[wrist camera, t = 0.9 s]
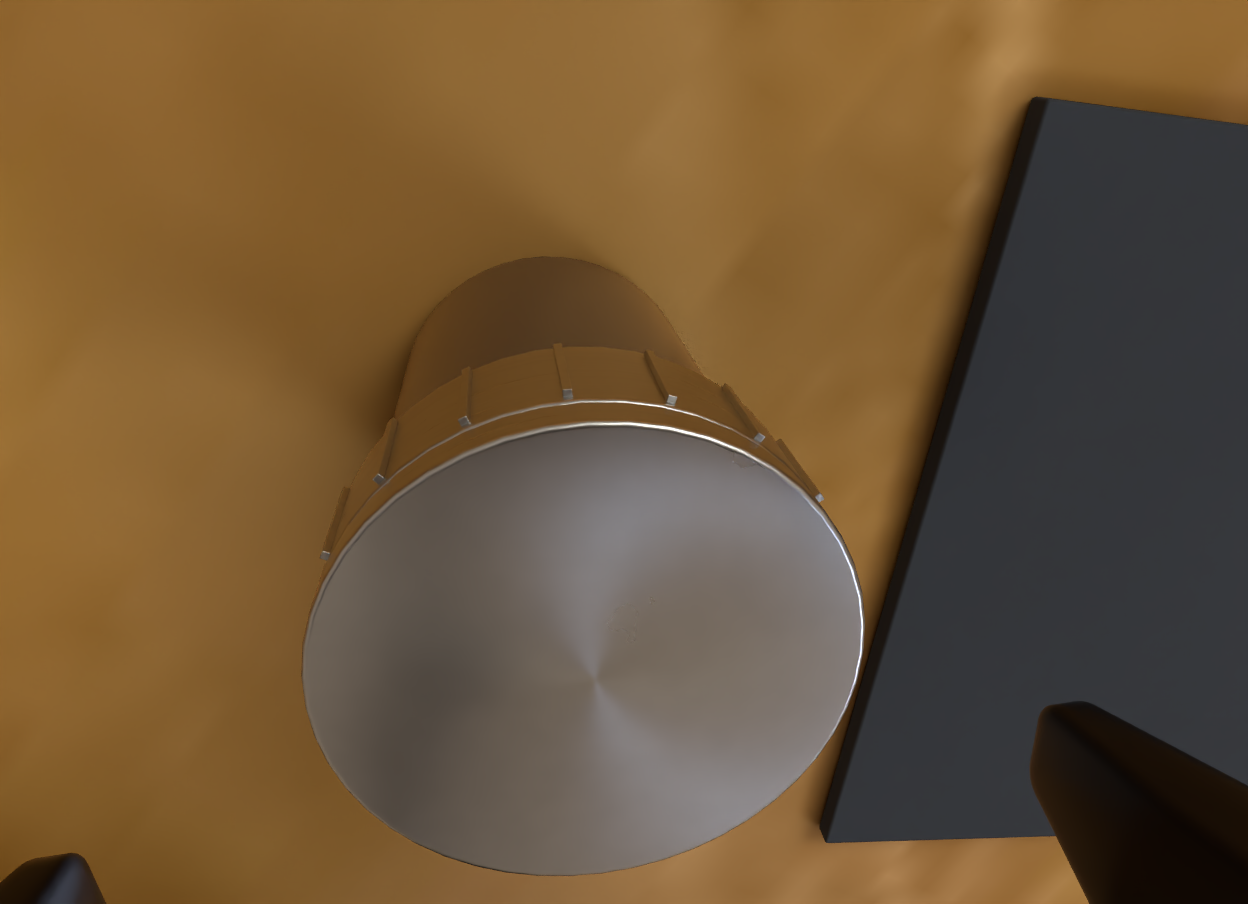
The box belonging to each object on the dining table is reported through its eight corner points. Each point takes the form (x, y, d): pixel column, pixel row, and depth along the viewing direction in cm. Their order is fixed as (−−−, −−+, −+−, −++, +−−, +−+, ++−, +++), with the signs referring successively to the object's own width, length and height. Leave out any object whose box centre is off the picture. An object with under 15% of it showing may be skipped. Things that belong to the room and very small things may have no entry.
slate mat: (1228, 816, 28) (1243, 831, 27) (818, 827, 25) (825, 844, 25) (1585, 171, 20) (1617, 175, 19) (1030, 96, 17) (1048, 98, 17)
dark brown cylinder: (665, 523, 20) (771, 813, 13) (402, 513, 19) (344, 823, 12) (707, 269, 18) (868, 439, 10) (407, 242, 17) (337, 409, 9)
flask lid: (760, 743, 14) (810, 871, 12) (334, 747, 13) (302, 890, 11) (852, 361, 12) (938, 435, 9) (324, 321, 11) (278, 397, 8)
